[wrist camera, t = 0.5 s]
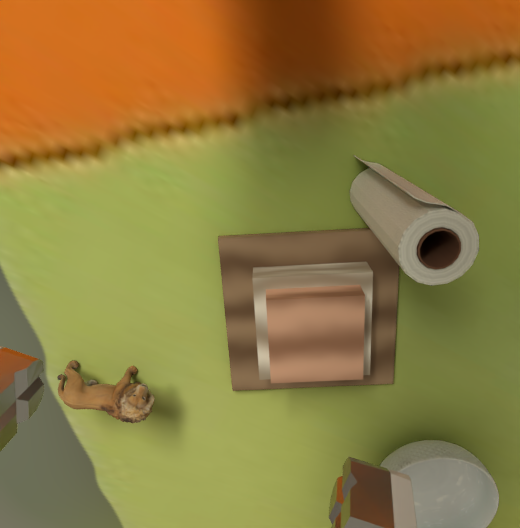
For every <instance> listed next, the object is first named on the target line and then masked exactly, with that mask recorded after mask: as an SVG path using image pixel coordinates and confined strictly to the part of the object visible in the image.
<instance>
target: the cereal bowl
mask: <svg viewBox="0 0 520 528" xmlns="http://www.w3.org/2000/svg"><path fill="white" fill-rule="evenodd" d="M380 466H381V467H384V468H387V469H390V470H393V471H397V472H400V473H403V474H406V475H409V477H410V478H411V482H412V490H413V498H414V506H415V514H416V521H417V528H486V527H487V526H488V525H489V524H490V522H491V521H492V519H493V518H494V516H495V514H496V512H497V508H498V504H499V493H498V489H497V486H496V483H495V482H494V479H493V478H492V476H491V474H490V473H489V472H488V470H487V469H486V468H485V466H484V465H483V464H482V463H481V461H480V460H479V459H478V458H477V457H475V456H474V455H473V454H472V453H470V452H469V451H468V450H466V449H464V448H463V447H460V446H458V445H456V444H453V443H449V442H444V441H442V440H439V441H438V440H423V441H417V442H413V443H410V444H406V445H404V446H402V447H400V448H398V449H397V450H395V451H394V452H392V453H391V454H390V455H388V456H387V458H385V459H384V461H382V463H381V464H380Z"/></svg>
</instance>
